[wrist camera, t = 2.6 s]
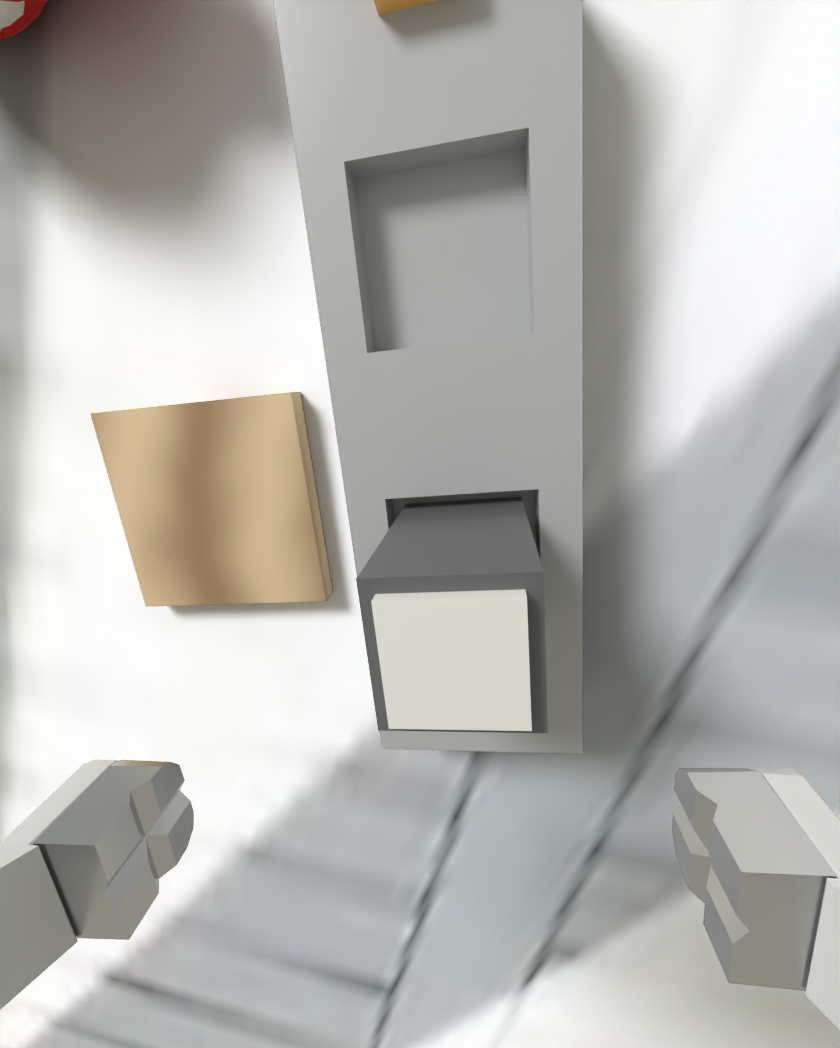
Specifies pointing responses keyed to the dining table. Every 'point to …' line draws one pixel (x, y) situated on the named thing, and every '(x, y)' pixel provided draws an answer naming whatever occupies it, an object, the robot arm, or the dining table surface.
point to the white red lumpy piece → (18, 15)
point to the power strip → (452, 279)
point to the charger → (457, 620)
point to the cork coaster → (218, 500)
